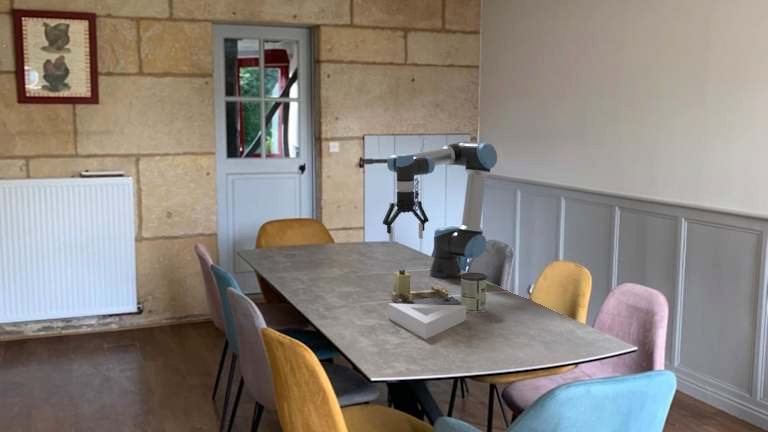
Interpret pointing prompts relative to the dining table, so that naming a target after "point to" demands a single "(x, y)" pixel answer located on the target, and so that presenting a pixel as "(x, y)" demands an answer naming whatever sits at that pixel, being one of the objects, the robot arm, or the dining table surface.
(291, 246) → the dining table surface
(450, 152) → the robot arm
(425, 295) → the bar
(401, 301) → the bolt plate
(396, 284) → the block
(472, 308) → the coffee can
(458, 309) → the triangle block
